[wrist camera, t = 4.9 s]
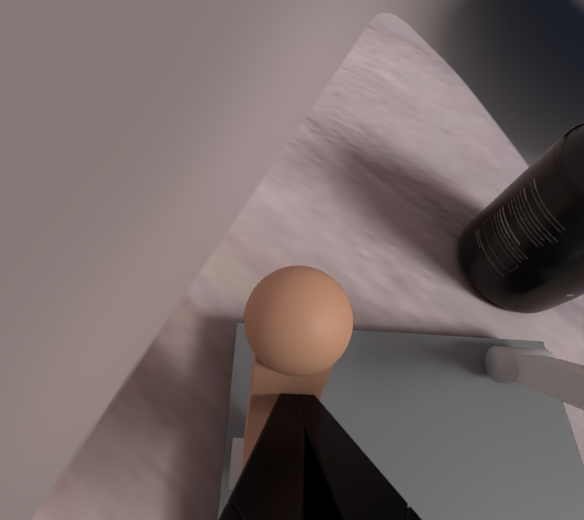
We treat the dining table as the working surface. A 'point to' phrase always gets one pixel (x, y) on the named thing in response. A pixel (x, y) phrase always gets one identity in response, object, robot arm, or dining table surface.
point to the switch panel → (441, 427)
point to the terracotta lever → (290, 344)
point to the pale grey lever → (537, 372)
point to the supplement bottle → (532, 234)
